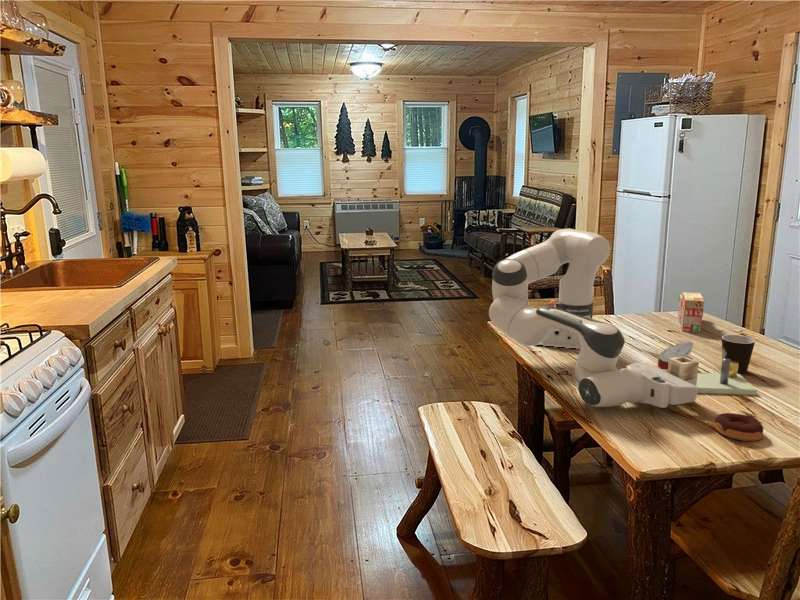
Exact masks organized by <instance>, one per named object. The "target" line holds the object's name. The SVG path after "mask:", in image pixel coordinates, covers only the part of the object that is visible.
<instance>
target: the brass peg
mask: <svg viewBox="0 0 800 600" xmlns="http://www.w3.org/2000/svg"><path fill="white" fill-rule="evenodd" d="M738 365H739V363H738V362H735V361H731V362H730V370H729V378H737V373H738Z"/></svg>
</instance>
